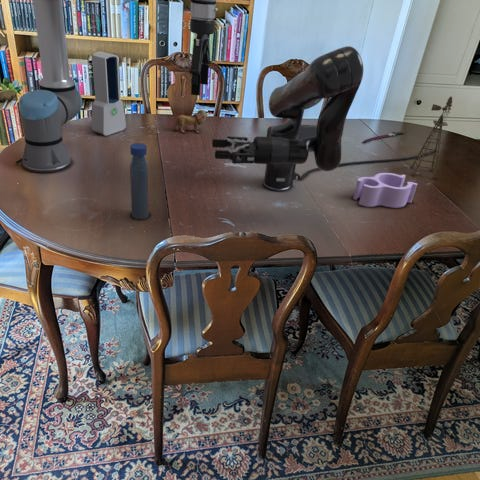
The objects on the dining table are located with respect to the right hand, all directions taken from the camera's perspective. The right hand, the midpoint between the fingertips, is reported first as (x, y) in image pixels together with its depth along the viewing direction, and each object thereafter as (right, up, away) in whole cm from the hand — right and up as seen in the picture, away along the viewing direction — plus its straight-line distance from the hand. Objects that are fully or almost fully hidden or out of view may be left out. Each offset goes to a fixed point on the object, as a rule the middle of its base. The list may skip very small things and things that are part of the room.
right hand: (213, 148), depth 129 cm
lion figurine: (-14, +21, +70) cm, 75 cm away
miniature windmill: (+79, +1, +55) cm, 96 cm away
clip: (+56, -12, +32) cm, 65 cm away
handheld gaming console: (+28, +12, +63) cm, 70 cm away
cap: (-20, 0, -3) cm, 20 cm away
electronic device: (-46, +19, +62) cm, 80 cm away
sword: (+74, +21, +86) cm, 115 cm away
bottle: (-22, -18, +8) cm, 30 cm away
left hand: (-6, +24, +25) cm, 35 cm away
